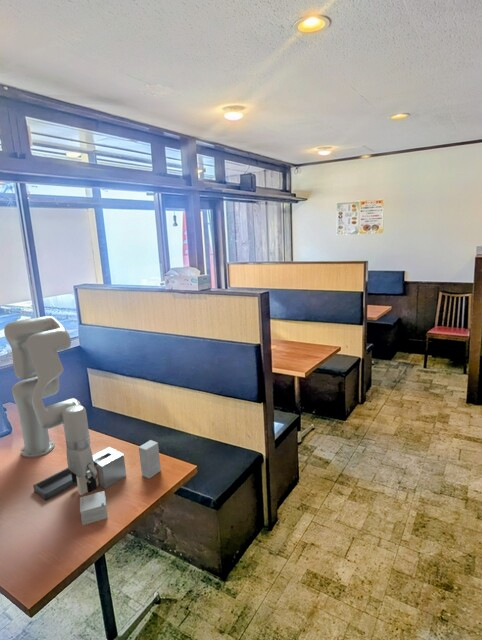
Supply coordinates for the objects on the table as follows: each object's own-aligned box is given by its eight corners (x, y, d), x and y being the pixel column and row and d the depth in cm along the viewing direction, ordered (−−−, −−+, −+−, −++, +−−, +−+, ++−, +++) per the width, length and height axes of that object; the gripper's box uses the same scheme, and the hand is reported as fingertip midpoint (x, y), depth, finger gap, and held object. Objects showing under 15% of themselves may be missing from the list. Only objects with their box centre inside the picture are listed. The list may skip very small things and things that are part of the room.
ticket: (78, 493, 137) (76, 475, 136) (110, 474, 147) (108, 458, 145) (81, 495, 136) (78, 477, 135) (113, 476, 146) (111, 459, 144)
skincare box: (153, 467, 151) (150, 439, 148) (161, 471, 148) (158, 442, 146) (141, 475, 146) (138, 446, 143) (149, 479, 144) (146, 450, 141)
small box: (81, 510, 129) (79, 496, 128) (106, 503, 132) (104, 490, 131) (81, 526, 122) (79, 512, 121) (108, 518, 125) (106, 504, 124)
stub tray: (34, 491, 139) (33, 485, 139) (77, 468, 152) (76, 463, 151) (45, 500, 134) (44, 494, 134) (89, 476, 147) (88, 470, 146)
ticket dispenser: (91, 479, 145) (88, 457, 143) (112, 467, 152) (109, 446, 150) (105, 488, 139) (102, 466, 137) (126, 475, 146) (123, 454, 144)
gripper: (54, 438, 136) (61, 482, 140) (81, 454, 126) (88, 500, 129) (74, 429, 142) (81, 471, 146) (102, 444, 131) (108, 488, 135)
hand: (84, 485), depth 137 cm, fingers open, 9 cm apart
